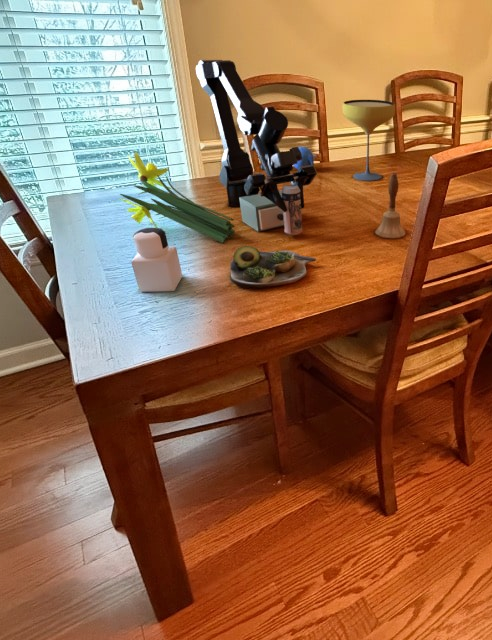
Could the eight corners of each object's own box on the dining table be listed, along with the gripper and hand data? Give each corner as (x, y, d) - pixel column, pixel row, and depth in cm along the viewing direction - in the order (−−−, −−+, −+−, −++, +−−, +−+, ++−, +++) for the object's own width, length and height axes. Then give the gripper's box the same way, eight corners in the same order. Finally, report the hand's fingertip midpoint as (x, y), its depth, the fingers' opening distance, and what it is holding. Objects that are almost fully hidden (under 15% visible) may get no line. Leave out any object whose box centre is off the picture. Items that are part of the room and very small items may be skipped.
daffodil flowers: (203, 258, 113) (86, 202, 118) (230, 264, 127) (126, 214, 132) (230, 193, 111) (111, 139, 116) (255, 207, 126) (148, 159, 130)
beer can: (295, 237, 120) (292, 190, 113) (280, 233, 122) (276, 187, 115) (306, 231, 124) (303, 186, 117) (291, 227, 125) (288, 183, 119)
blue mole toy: (328, 169, 181) (327, 146, 176) (304, 175, 174) (303, 151, 169) (308, 163, 188) (307, 141, 183) (284, 168, 181) (282, 146, 176)
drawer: (300, 222, 130) (299, 204, 127) (264, 231, 124) (262, 212, 121) (282, 212, 136) (281, 195, 133) (247, 220, 130) (245, 202, 128)
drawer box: (298, 222, 132) (296, 198, 128) (258, 232, 126) (255, 207, 122) (280, 213, 138) (278, 189, 135) (242, 221, 132) (239, 197, 128)
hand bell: (408, 229, 129) (413, 171, 120) (400, 240, 122) (404, 179, 114) (380, 225, 131) (382, 167, 122) (371, 236, 124) (372, 175, 116)
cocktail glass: (392, 184, 166) (396, 107, 152) (341, 183, 166) (340, 106, 152) (391, 171, 181) (394, 100, 167) (344, 170, 181) (344, 98, 167)
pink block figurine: (149, 276, 102) (135, 224, 96) (183, 276, 103) (171, 224, 96) (139, 292, 96) (123, 237, 90) (174, 291, 97) (161, 237, 90)
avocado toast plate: (312, 252, 115) (311, 234, 113) (322, 285, 101) (321, 265, 98) (231, 258, 111) (228, 240, 109) (230, 293, 97) (227, 273, 94)
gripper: (243, 140, 107) (270, 200, 107) (311, 132, 117) (337, 186, 116) (233, 167, 117) (258, 222, 116) (297, 157, 127) (320, 208, 126)
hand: (294, 209), depth 118 cm, fingers closed on beer can, 5 cm apart
